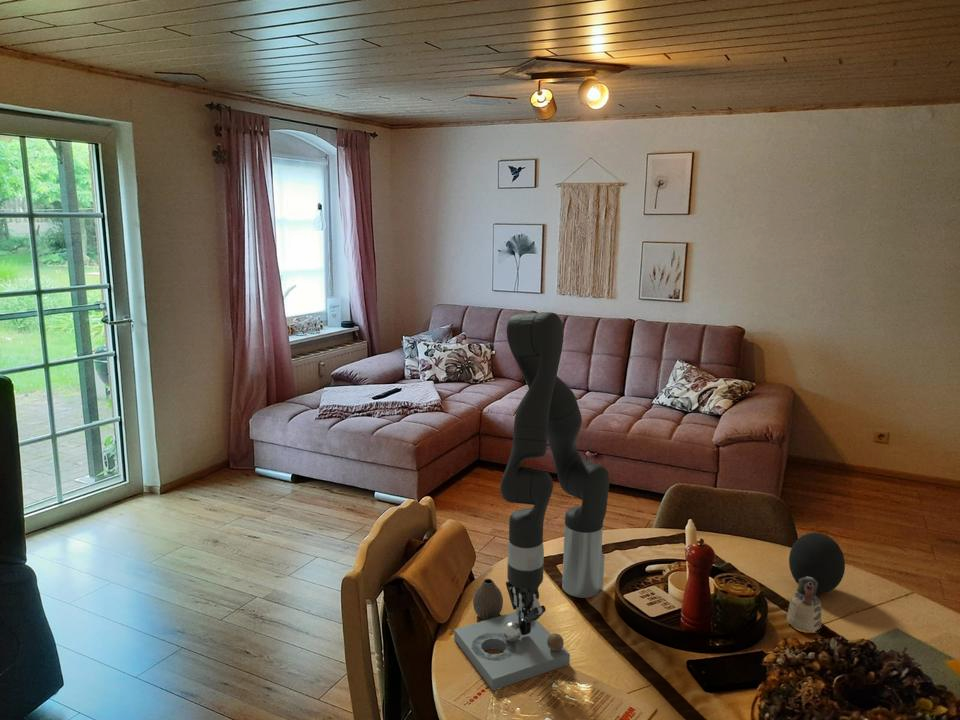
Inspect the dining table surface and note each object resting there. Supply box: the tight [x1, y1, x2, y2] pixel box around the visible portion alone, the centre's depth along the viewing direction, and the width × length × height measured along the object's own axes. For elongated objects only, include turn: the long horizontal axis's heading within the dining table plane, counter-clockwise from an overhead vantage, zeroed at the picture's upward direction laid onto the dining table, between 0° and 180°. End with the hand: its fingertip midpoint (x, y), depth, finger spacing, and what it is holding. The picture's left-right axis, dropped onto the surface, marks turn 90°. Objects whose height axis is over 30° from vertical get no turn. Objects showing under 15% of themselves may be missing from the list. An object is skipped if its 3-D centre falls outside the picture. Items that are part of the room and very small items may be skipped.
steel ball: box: [503, 622, 521, 642], centre depth 143 cm, size 4×4×4 cm
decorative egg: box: [788, 532, 846, 595], centre depth 167 cm, size 12×12×15 cm
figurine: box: [786, 577, 823, 631], centre depth 153 cm, size 7×7×12 cm
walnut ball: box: [547, 632, 565, 651], centre depth 140 cm, size 3×3×3 cm
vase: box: [472, 578, 504, 621], centre depth 155 cm, size 7×7×9 cm
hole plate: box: [453, 611, 571, 691], centre depth 143 cm, size 18×18×2 cm
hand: (524, 632), depth 145 cm, fingers closed
